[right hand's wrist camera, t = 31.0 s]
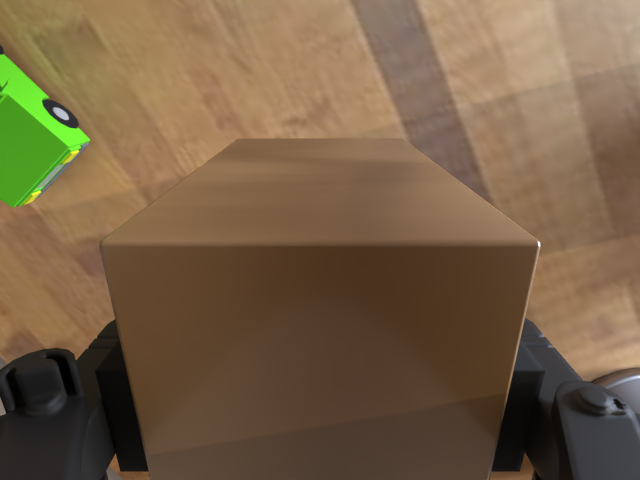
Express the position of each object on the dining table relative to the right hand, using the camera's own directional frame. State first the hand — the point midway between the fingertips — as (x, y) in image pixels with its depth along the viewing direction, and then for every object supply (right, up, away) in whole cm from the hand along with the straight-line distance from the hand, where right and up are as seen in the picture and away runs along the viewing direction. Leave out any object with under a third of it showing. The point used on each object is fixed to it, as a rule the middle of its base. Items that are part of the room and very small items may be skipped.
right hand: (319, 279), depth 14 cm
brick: (0, +2, +5) cm, 5 cm away
